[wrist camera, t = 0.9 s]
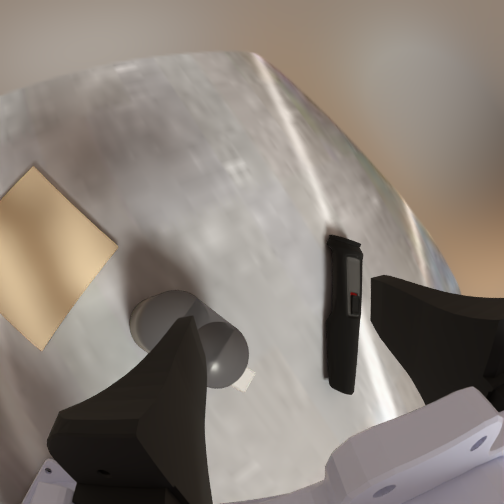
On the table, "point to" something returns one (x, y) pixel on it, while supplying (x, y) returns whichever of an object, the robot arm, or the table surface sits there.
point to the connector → (210, 331)
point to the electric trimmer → (344, 313)
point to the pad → (45, 256)
